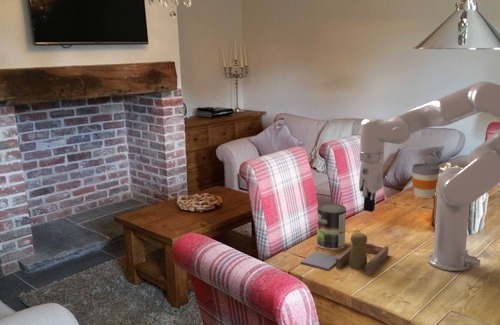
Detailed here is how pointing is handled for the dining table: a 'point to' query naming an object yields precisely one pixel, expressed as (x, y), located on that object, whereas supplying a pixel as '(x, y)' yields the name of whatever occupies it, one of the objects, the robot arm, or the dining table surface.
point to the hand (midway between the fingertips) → (369, 210)
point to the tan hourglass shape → (358, 251)
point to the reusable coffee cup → (424, 179)
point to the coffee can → (331, 226)
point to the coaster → (320, 260)
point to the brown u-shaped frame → (371, 248)
